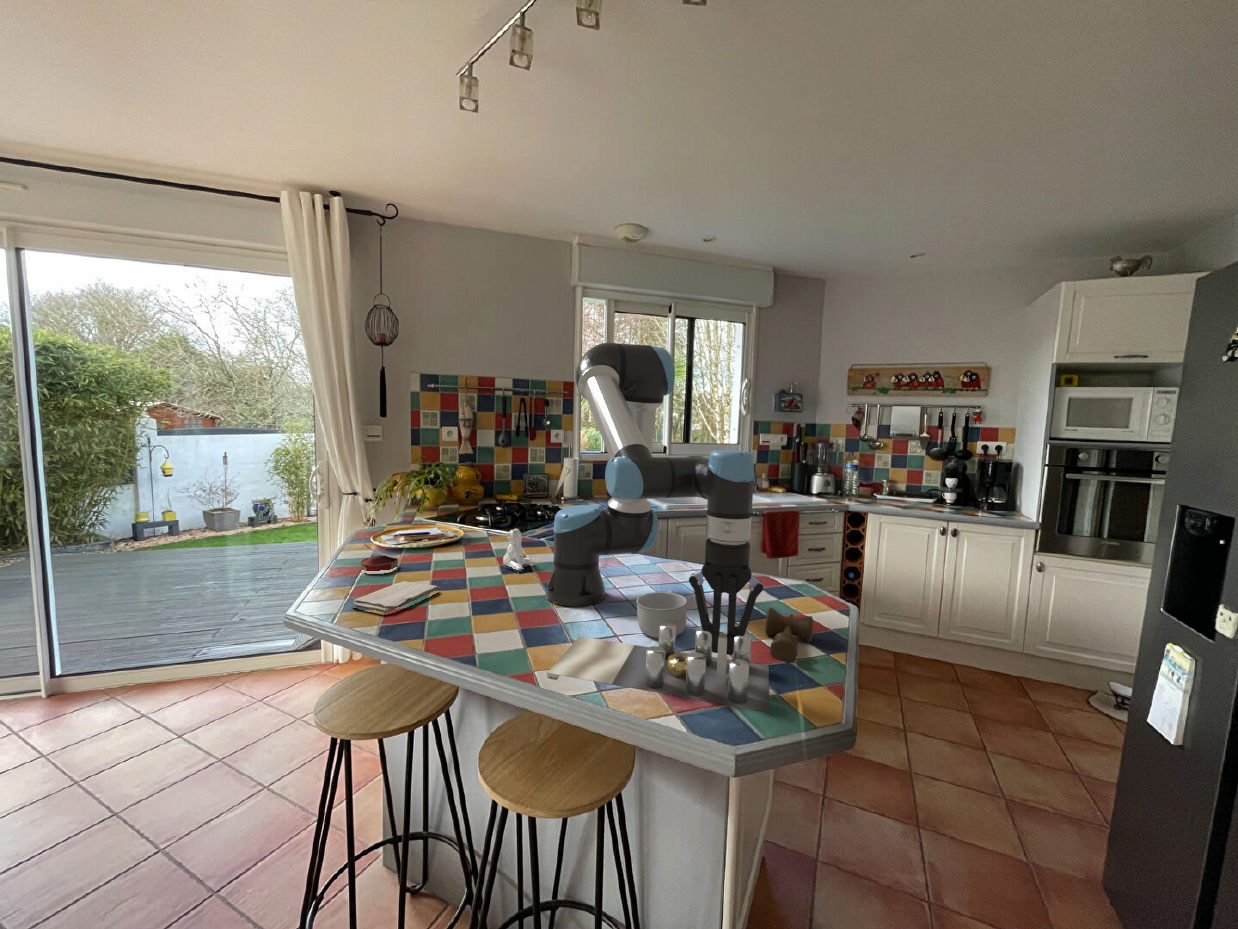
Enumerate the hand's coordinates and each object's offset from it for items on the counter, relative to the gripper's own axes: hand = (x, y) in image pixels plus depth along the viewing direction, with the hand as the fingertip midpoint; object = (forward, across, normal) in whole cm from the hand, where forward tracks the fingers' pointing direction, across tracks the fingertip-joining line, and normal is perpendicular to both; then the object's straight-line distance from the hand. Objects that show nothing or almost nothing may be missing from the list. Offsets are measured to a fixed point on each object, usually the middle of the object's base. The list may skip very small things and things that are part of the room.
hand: (721, 670), depth 90 cm
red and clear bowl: (+3, -102, +33) cm, 107 cm away
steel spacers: (+2, -4, 0) cm, 4 cm away
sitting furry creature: (+3, -66, +49) cm, 82 cm away
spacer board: (+2, -11, 0) cm, 11 cm away
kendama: (+3, +12, +21) cm, 24 cm away
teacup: (+3, -14, +18) cm, 23 cm away
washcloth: (+3, -80, +14) cm, 81 cm away
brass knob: (+2, -7, 0) cm, 8 cm away
